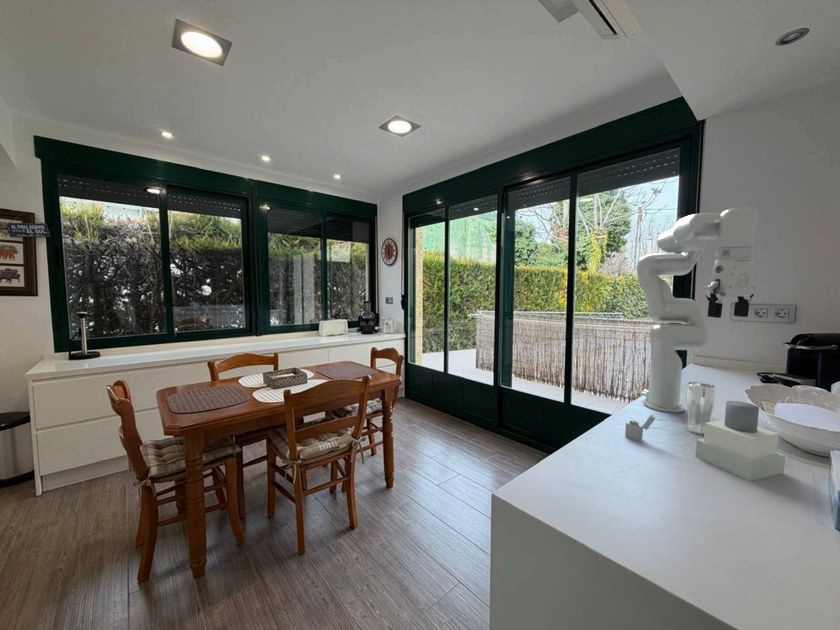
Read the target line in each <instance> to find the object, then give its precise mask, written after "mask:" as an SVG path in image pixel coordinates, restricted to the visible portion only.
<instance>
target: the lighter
mask: <svg viewBox="0 0 840 630" xmlns="http://www.w3.org/2000/svg"><path fill="white" fill-rule="evenodd" d="M656 419H657V417H655V416H653V415H650V416H649V417H648V418H647V420H646V421H645V422H644V423H643V425H642V424H640V423H639V420H635V419H630V420H629V421H626V422H625V433H624V434H625V435H624V437H625V436H626V437H625V438H627V437H628V438H629V439H631V438H632V440H634V439H636V440H635V441H638V440H639V442H642V441H643V436H644V435H643V432H644V430H646V431H647V430H648V429H649V428H650V426H651V425H652V424H653V423H654V421H656ZM641 440H642V441H641Z"/></svg>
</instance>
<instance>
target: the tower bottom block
mask: <svg viewBox="0 0 840 630" xmlns="http://www.w3.org/2000/svg"><path fill="white" fill-rule="evenodd" d="M695 442H696V443H695V454H694V455H695V457H697V458H698V459H700V460H703V461H704V462H706V463H707V462H708V463H710V464H712V465H714V466H716V467H719V468H721V469H723V470H725V471H727V472H729V473H731V474H734V475H736V476H739V477H741V478H743V479H744V480H747V481H749V482H750V481H754V480H760V479H764V478H768V477H774V476H777V475H782V474H784V473H785V462H786V455H785V454H783V453H780V452H778V451H777V453H775V454H771V455H768V456H764V457H760V458H756V459H752V460H751V459H748V458H746V457H743V456H740V455H738V454H735V453H733V452H730V451H727V450H725V449H722V448H720V447H717V446H715V445H712V444H709V443H707V442H704V437H703V438H698V439H696V441H695Z"/></svg>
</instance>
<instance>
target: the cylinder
mask: <svg viewBox="0 0 840 630" xmlns="http://www.w3.org/2000/svg"><path fill="white" fill-rule="evenodd" d="M759 410H760V407H759V406H758V405H756V404H753V403H749V402H745V401H739V400H728V401H726V403H725V410H724V411H725V412H724V413H725V414H724V419H725V426H726V427H728V428H730V429H733V430H736V431H740V432H746V433H756V432H757V427H759V426H758V424H759V412H760V411H759Z"/></svg>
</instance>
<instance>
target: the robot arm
mask: <svg viewBox="0 0 840 630" xmlns="http://www.w3.org/2000/svg"><path fill="white" fill-rule="evenodd" d="M758 217H759V213H758V210H757V209H756V208H754V207H737V208H729V209H727V210H726V209H725V210H724V211H722V212H710V213H709V212H708V213H707V212H706V213H694V214H690V215H689V214H688V215H687V216H684V217H682V218H679V219H678V220H677V222H676V223H675V224H674V227H673V228H670V229H668V230H666V231H664V232H662V233H661V234H660V235H659V237H658V238H657V240H656V244H657V247H658V248H659V250H661V251H663V252H666V253H651V254H650V253H649V254H646V255H644V256H642V257H640V258H639V260H638V261H637V265H636V274H637V278H638V281H639V283H640V285H641V287H642V289H643V292H644V295H645V300H646V304H647V308H648V313H649V316H650V320H652V321H654V322H656V323H657V324H655V325H653V326H652V327H651V328H650V330H649V333H648V334H649V335H648V337H649V343H650V367H649V368H650V370H649V384H648V385H649V387H648V390H647V389H643V391H641V393H640V395H641V396H644V397H645V399H644V400H643V405H644V406H646V407H647V408H650V409H653V410H655V411H656V410H657V411H660V412H665V413H666V412H667V413H682V412H684V411H685V406H684V404H683V405H682V404H681V403H680V401H681V389H682V387H681V386H682V375H683V374H682V371H683V361H682V358H681V357H680V356H679V354H678V353H677V350H678V351H700V350H703V349H705V348H706V347H707V345H708V342H709V335H708V330H707V326H706V323H705V319H704V315H703V313H702V312H703V311H702V308H701V306H700V304H699V303H698V302H697V301H696V300H695V299H691V298H683V297H680V298H679V297H675V296H674V295H673V292H672V288H671V287H670V285H669V284H668V283H667V282H666V280H664V279H663V278H661V277H660V276H684V275H687V274H689V273H690V272H691V271H692V270H693V268H694V267H695V265H696V263H697V262H698V260H699V258H700V257H701V255H702V254H703V252H704V251H705V249H706V247H707V246H708V245H707V244H708V241H709V240H717V243H716V252H715V253H716V254H715V262H714V264H713V268H712V272H711V277H710V283H709V284H707V285H706V286H704V292H705V297H706V299H707V300H706V302H707V303H708V307H707V317H708V318H716V319H717V318H718V319H720V318H721V317H722V313H723V312H722V311H723V300H724V298H725V297H726V296H727V297H735V299H736V301H735V302H734V308H733V316H736V317H742V318H743V317H744V318H745V317H749V310H750V303H751V302H752V298H753V297H754V296H755V294H754V293H755V292H756V290H757V286H755V284H756V282H755V281H756V280H755V279H756V276H755V275H756V272H755V271H756V270H755V269H756V268H755V261H754V250H755V248H754V247H755V241H756V232H757V224H758Z"/></svg>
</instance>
